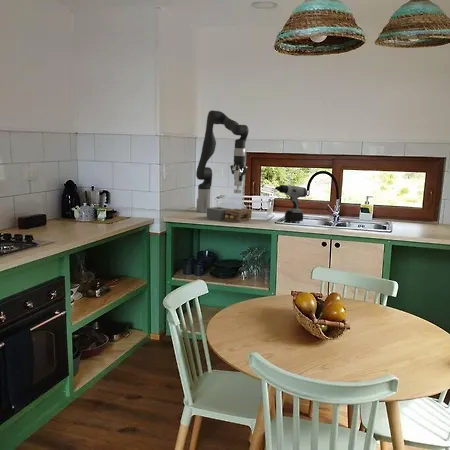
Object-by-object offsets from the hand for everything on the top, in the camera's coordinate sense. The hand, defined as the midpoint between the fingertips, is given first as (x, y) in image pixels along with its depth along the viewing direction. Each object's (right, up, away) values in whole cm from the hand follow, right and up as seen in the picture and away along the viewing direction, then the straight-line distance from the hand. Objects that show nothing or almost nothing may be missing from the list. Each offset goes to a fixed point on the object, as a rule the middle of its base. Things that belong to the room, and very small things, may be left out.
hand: (238, 180), depth 323 cm
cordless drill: (+36, -27, +15) cm, 47 cm away
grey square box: (-13, -25, +10) cm, 30 cm away
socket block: (-1, -27, +4) cm, 27 cm away
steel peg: (0, -8, +1) cm, 8 cm away
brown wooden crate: (0, -25, +5) cm, 26 cm away
